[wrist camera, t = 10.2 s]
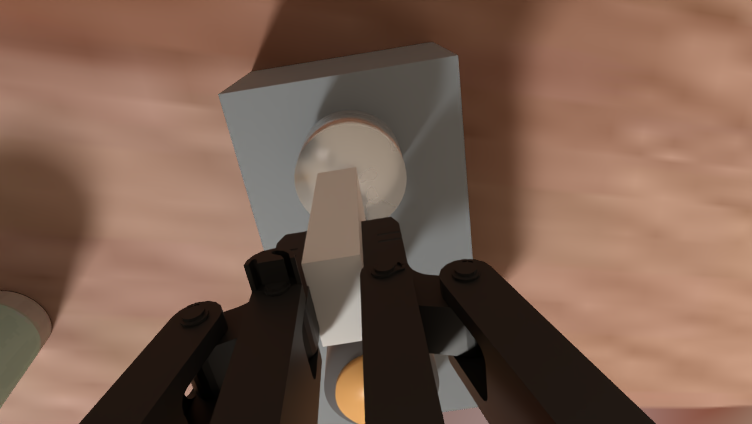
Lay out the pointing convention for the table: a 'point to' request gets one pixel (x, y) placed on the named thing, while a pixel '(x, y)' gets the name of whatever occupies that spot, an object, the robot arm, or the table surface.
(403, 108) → the console
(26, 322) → the coffee cup
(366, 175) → the knob
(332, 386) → the pot knob
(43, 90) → the table surface
